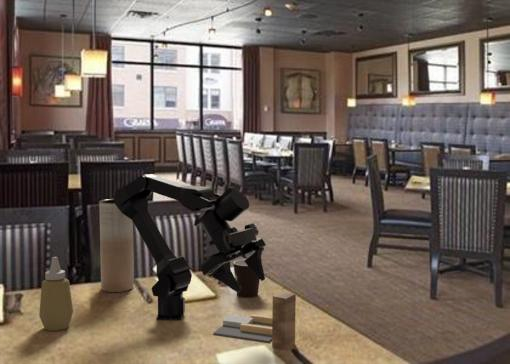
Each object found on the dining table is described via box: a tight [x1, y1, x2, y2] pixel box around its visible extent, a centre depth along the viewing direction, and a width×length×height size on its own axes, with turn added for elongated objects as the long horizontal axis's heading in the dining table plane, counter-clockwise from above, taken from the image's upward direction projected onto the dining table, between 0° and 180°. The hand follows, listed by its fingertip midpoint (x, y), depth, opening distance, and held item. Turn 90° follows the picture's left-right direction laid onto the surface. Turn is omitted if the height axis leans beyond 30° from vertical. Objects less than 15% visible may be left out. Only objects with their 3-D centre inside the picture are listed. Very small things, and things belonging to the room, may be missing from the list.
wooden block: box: [271, 291, 297, 351], centre depth 129 cm, size 4×4×12 cm
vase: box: [98, 198, 134, 293], centre depth 174 cm, size 10×10×28 cm
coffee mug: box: [232, 258, 261, 299], centre depth 170 cm, size 12×9×10 cm
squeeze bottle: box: [38, 256, 74, 332], centre depth 139 cm, size 8×8×18 cm
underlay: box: [212, 313, 272, 343], centre depth 139 cm, size 14×12×2 cm
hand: (251, 285), depth 134 cm, fingers open, 9 cm apart
